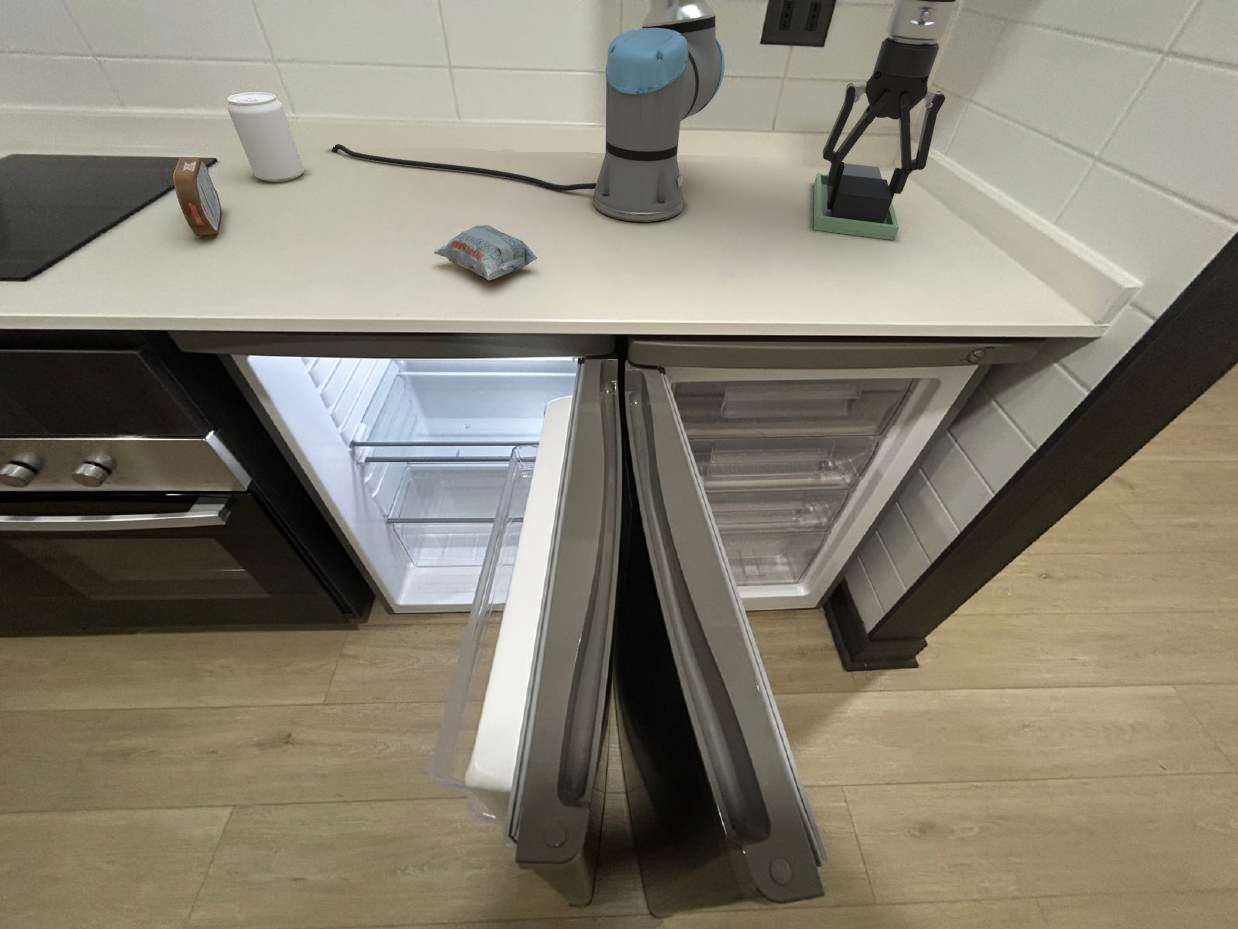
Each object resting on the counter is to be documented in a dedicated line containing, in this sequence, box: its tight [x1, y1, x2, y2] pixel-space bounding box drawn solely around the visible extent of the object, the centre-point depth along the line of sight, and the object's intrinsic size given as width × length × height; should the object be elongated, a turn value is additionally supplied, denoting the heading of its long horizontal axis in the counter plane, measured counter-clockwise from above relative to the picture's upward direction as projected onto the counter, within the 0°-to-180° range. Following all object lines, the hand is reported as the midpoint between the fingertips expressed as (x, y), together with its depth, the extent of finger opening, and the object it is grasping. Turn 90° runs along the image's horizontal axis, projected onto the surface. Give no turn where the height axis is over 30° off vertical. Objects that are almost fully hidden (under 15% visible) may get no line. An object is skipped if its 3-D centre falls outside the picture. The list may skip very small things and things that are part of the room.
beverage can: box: [226, 91, 305, 183], centre depth 94 cm, size 8×8×12 cm
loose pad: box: [831, 175, 893, 224], centre depth 91 cm, size 8×10×4 cm
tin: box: [172, 156, 222, 237], centre depth 81 cm, size 15×3×8 cm, turn 23°
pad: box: [827, 162, 883, 198], centre depth 98 cm, size 8×10×4 cm
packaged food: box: [433, 224, 538, 281], centre depth 75 cm, size 9×12×5 cm
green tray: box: [813, 172, 900, 241], centre depth 96 cm, size 22×13×2 cm, turn 166°
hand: (856, 209), depth 92 cm, fingers closed on loose pad, 8 cm apart
